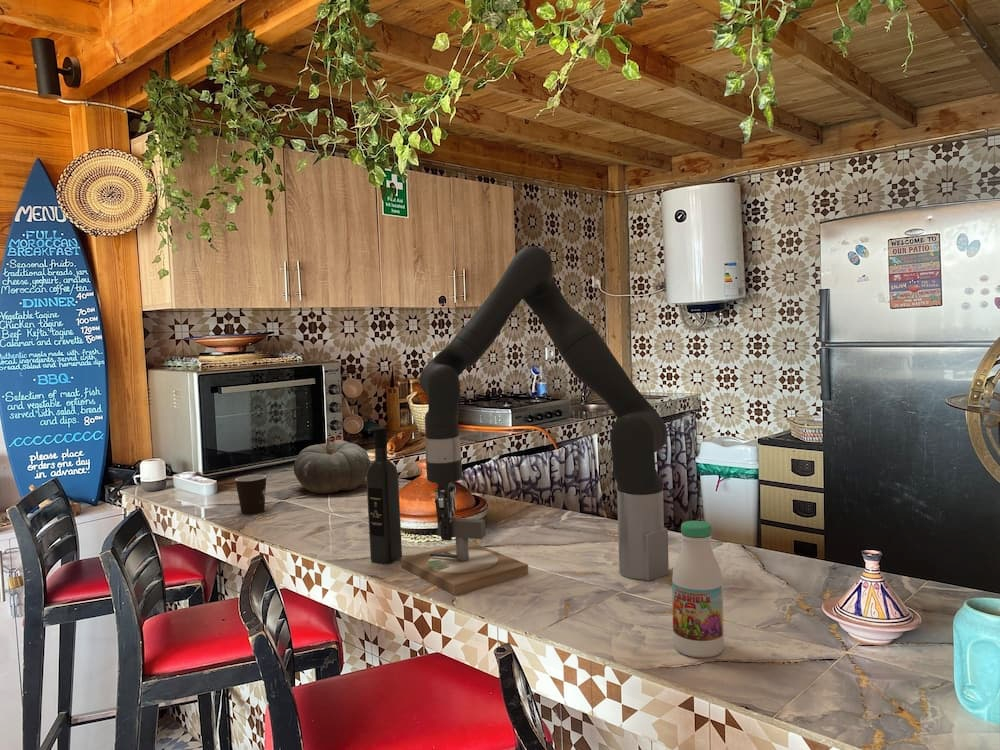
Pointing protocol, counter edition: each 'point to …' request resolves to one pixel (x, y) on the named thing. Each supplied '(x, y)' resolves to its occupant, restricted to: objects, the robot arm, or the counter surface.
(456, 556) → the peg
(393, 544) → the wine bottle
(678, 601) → the milk bottle
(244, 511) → the coffee mug
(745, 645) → the counter surface
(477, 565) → the wooden base stand
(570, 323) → the robot arm
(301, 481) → the gourd
